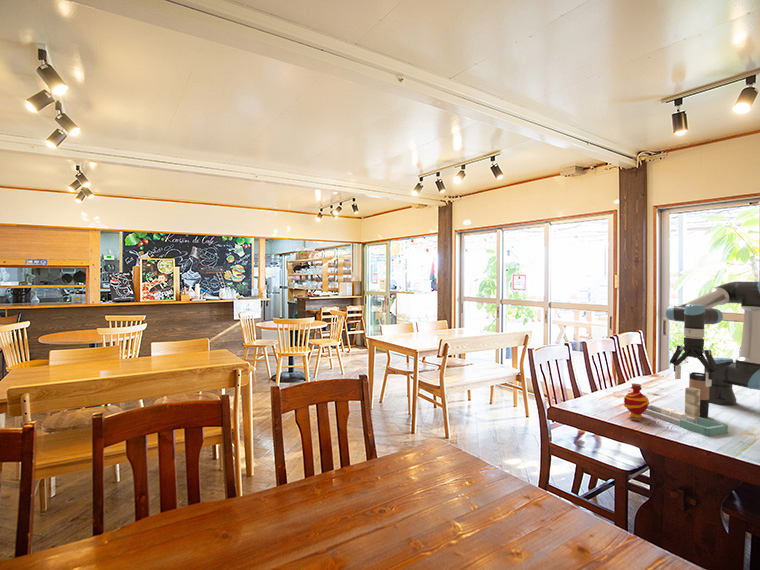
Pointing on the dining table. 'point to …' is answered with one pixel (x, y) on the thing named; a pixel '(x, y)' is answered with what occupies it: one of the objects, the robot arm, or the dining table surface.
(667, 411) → the cube
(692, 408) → the light wood tall block
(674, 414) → the cube
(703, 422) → the tray
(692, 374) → the travel mug
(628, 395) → the potion bottle
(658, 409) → the slot rail
